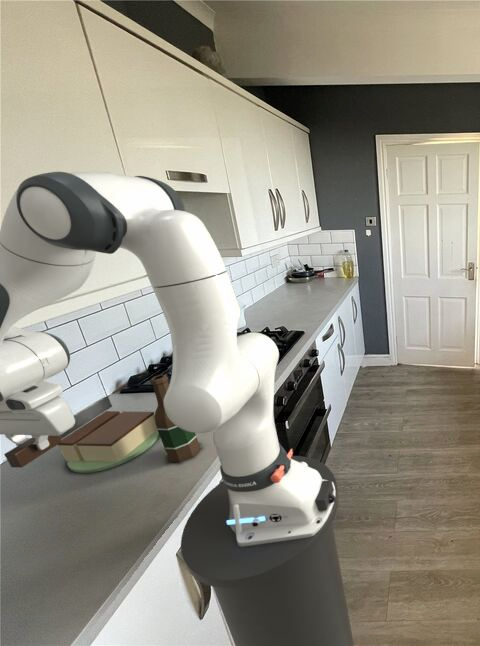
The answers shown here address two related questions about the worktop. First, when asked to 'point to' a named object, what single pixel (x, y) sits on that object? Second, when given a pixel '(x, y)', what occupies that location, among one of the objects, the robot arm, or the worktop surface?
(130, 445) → the cake
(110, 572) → the worktop surface
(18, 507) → the worktop surface
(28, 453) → the knife
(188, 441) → the beer bottle
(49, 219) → the robot arm
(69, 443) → the cake slice
